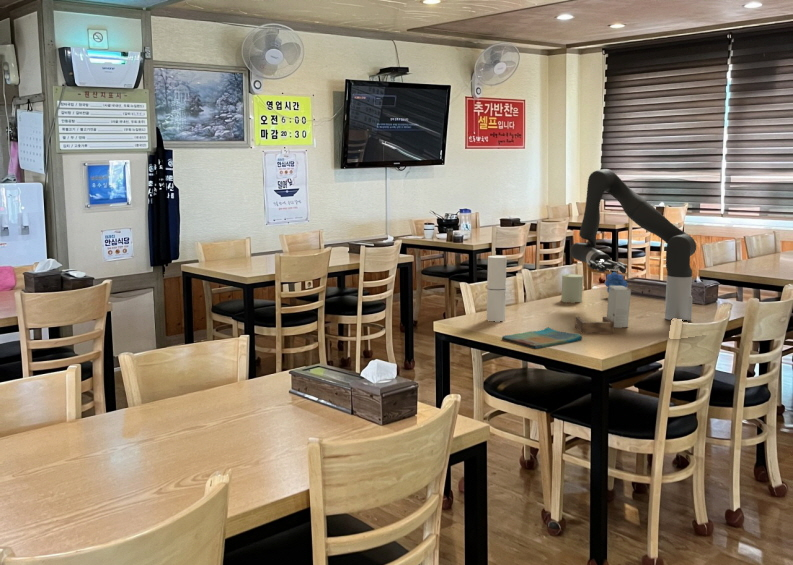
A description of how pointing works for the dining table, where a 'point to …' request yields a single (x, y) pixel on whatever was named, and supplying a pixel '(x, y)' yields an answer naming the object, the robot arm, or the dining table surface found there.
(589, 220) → the robot arm
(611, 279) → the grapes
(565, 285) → the can
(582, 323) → the bracket
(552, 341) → the dish towel
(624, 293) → the skincare box
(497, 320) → the cylindrical container
